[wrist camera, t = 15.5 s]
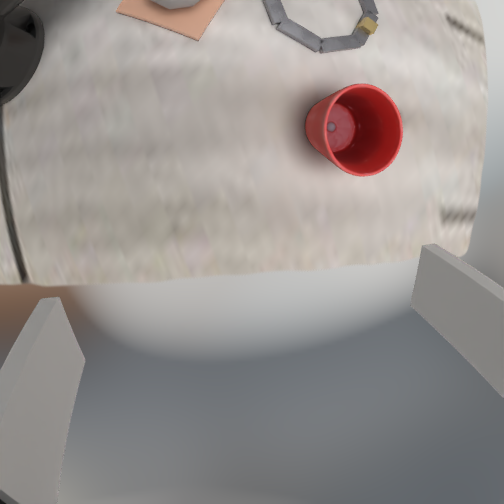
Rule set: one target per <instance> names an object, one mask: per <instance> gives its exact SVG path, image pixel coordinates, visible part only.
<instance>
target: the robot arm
mask: <svg viewBox="0 0 504 504" xmlns="http://www.w3.org/2000/svg"><path fill="white" fill-rule="evenodd" d="M22 1H23V0H0V105H3V104H5V103H7V102H8V101H10V100H11V99H12V98H14V97H15V96H16V95H17V94H18V93H19V92H20V91H21V90H22V89H23V88H24V87H25V85H26V84H27V83H28V81H29V80H30V78H31V77H32V75H33V74H34V72H35V70H36V68H37V66H38V63H39V61H40V58H41V55H42V51H43V46H44V29H43V25H42V22H41V20H40V19H39V17H38V16H37V15H36V14H34V13H33V12H31V11H30V10H28V9H27V8H24V7H20V6H18V5H19V4H20V3H21V2H22ZM410 306H411V307H412V308H414V310H416V311H417V312H418V313H419V314H420V315H421V316H422V317H423V318H424V319H425V320H426V321H427V322H428V323H429V324H431V325H432V326H433V327H434V328H435V329H436V330H437V331H438V332H439V333H440V334H441V335H442V336H443V337H444V338H445V339H446V340H447V341H448V342H449V343H450V344H451V345H452V346H453V347H454V348H455V349H456V350H457V351H458V352H459V353H461V355H462V356H463V357H464V358H465V359H466V360H467V361H468V362H469V363H470V364H471V365H472V366H473V367H474V368H475V369H476V370H477V371H478V372H479V373H480V374H481V375H482V376H483V377H484V378H485V379H486V380H487V381H488V382H489V383H490V384H491V386H493V388H494V389H495V390H496V391H497V392H498V393H499V394H500V395H501V396H502V397H503V398H504V288H503V287H501V286H500V285H498V284H497V283H496V282H494V281H493V280H491V279H490V278H488V277H487V276H485V275H484V274H482V273H481V272H479V271H478V270H476V269H475V268H473V267H472V266H470V265H469V264H467V263H466V262H464V261H462V260H461V259H459V258H458V257H456V256H454V255H453V254H451V253H450V252H448V251H446V250H445V249H443V248H442V247H440V246H438V245H437V244H429V245H424V246H422V248H421V254H420V260H419V266H418V271H417V275H416V280H415V285H414V290H413V294H412V298H411V303H410ZM84 364H85V358H84V356H83V354H82V352H81V349H80V347H79V345H78V343H77V340H76V338H75V336H74V333H73V331H72V328H71V326H70V324H69V321H68V319H67V316H66V314H65V311H64V308H63V306H62V303H61V300H60V298H59V297H53V298H44V299H41V300H40V301H39V303H38V304H37V306H36V308H35V309H34V311H33V312H32V314H31V316H30V317H29V319H28V321H27V322H26V324H25V326H24V328H23V329H22V331H21V333H20V334H19V336H18V338H17V340H16V341H15V344H14V345H13V347H12V349H11V351H10V353H9V354H8V356H7V358H6V360H5V362H4V364H3V366H2V368H1V370H0V504H57V500H58V491H59V482H60V476H61V469H62V463H63V456H64V450H65V444H66V440H67V435H68V430H69V425H70V420H71V415H72V411H73V407H74V402H75V398H76V394H77V390H78V386H79V382H80V378H81V375H82V371H83V368H84Z"/></svg>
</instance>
